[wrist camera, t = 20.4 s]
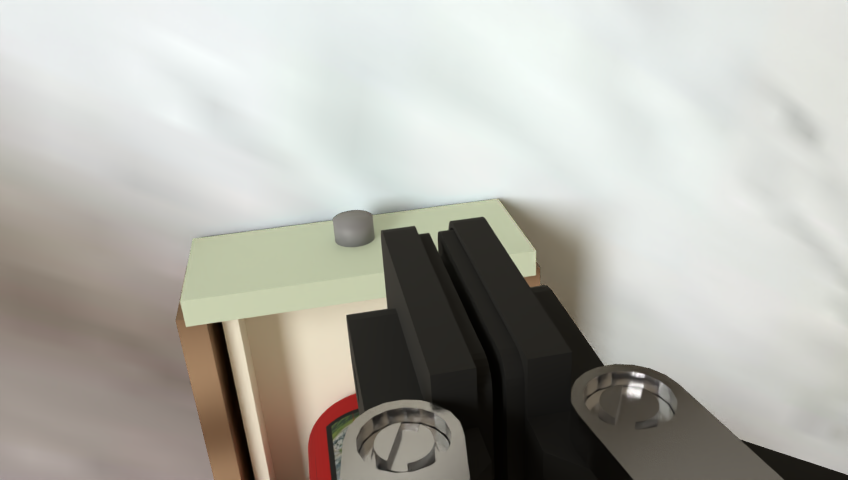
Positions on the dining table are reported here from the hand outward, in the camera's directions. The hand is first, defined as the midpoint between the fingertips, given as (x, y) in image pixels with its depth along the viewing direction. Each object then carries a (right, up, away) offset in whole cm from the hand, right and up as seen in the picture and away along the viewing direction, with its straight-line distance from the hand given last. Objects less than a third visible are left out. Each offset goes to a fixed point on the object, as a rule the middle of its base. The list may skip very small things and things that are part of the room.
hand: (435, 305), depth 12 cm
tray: (-3, -5, +28) cm, 28 cm away
